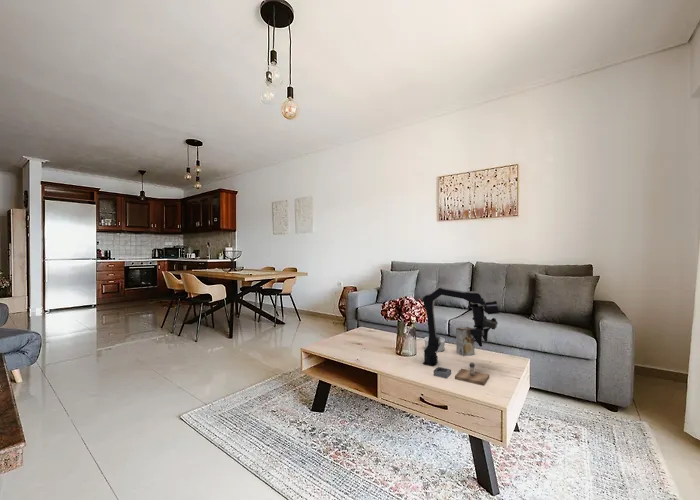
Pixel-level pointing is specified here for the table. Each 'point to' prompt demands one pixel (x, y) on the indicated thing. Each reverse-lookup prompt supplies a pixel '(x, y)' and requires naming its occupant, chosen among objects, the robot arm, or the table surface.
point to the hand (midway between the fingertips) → (483, 344)
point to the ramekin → (439, 346)
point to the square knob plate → (472, 376)
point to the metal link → (442, 372)
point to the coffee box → (464, 341)
